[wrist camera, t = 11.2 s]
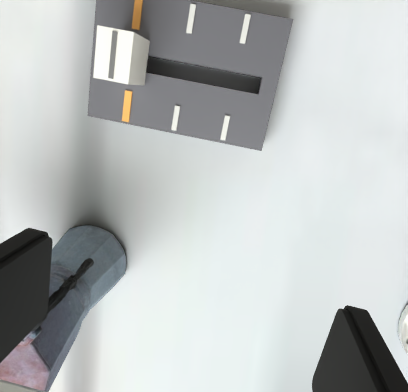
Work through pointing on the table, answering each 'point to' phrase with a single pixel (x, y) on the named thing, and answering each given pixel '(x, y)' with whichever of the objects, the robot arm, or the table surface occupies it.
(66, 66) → the table surface
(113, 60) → the fader knob
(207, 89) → the fader console
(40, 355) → the moka pot
